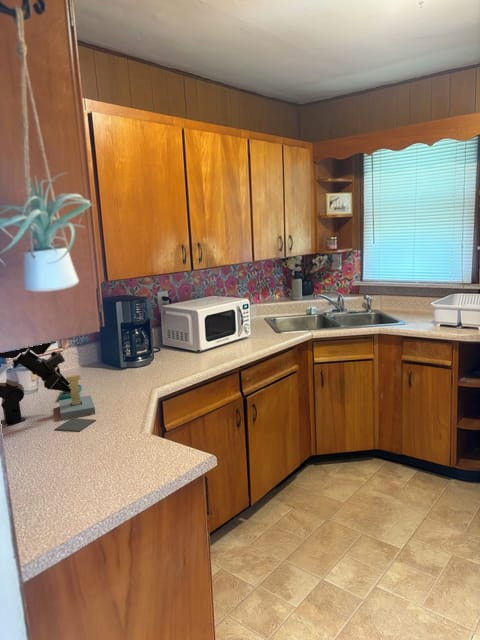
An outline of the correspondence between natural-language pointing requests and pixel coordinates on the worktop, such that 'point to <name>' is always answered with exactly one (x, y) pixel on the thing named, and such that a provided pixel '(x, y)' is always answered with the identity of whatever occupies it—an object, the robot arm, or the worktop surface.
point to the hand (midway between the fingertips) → (69, 387)
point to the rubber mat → (75, 424)
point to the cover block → (76, 408)
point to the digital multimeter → (67, 394)
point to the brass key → (74, 389)
